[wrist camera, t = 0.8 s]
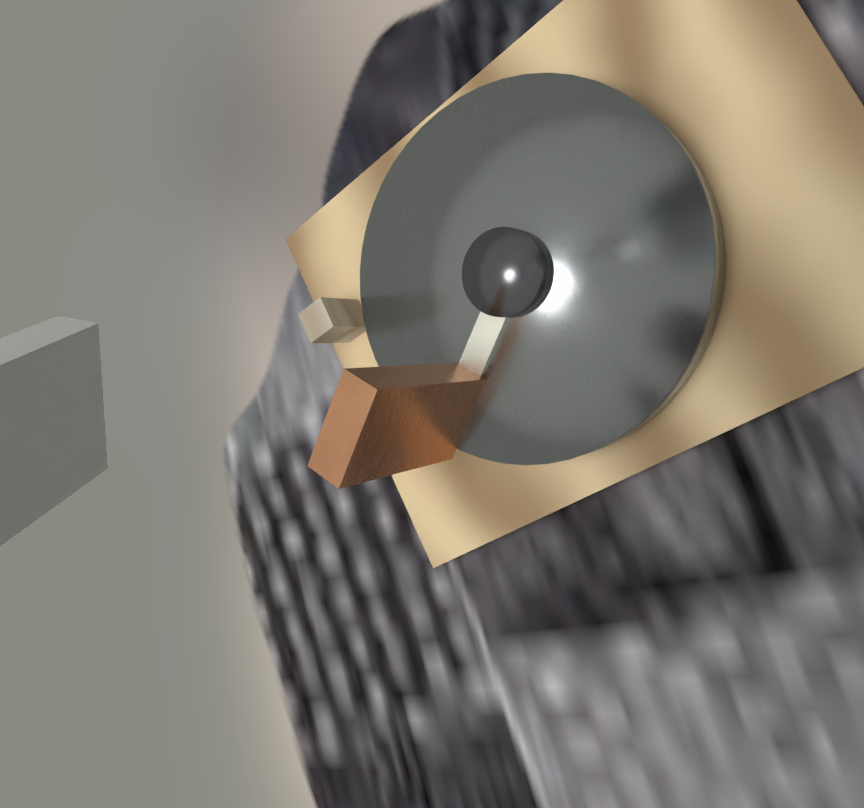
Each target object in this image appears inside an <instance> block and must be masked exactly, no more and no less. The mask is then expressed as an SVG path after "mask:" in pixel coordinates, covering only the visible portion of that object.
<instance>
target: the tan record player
mask: <svg viewBox="0 0 864 808" xmlns="http://www.w3.org/2000/svg"><path fill="white" fill-rule="evenodd" d="M532 73H559V74H570V75H576V76H580V77H584V78H588V79H592V80H596V81H598V82H601V83H603V84H605V85H608V86H610V87H612V88H615V89H617V90H619V91H621V92H623V93H624V94H626V95H627V96H629V97H631V98H632V99H634V100H635V101H637V102H638V103H640V104H641V105H643V106H644V107H645V108H646V109H647V110H649V111H650V112H651V113H652V114H653V115H655V116H656V117H657V118H658V119H659V120H660V121H662V122H663V123H664V124H665V125H666V126H667V127H668V128H670V129H671V130H672V131H673V132H674V133H675V134H676V135H677V136H678V137H679V139H680V140H681V141H682V142H683V143H684V145H685V146H686V147H687V148H688V149H689V151H690V152H691V153H692V155H693V156H694V158H695V160H696V161H697V163H698V165H699V166H700V168H701V170H702V171H703V173H704V174H705V177H706V179H707V181H708V184H709V186H710V188H711V191H712V193H713V196H714V198H715V201H716V205H717V209H718V212H719V216H720V220H721V224H722V230H723V239H724V247H725V281H724V287H723V294H722V300H721V307H720V310H719V314H718V317H717V321H716V324H715V327H714V331H713V334H712V336H711V339H710V341H709V343H708V345H707V348H706V350H705V352H704V354H703V357H702V359H701V360H700V362H699V364H698V365H697V367H696V369H695V370H694V372H693V374H692V375H691V377H690V378H689V380H688V382H687V383H686V384H685V385H684V387H683V388H682V389H681V390H680V392H679V393H678V394H677V395H676V396H675V398H674V399H673V400H672V401H671V402H670V403H669V404H668V405H667V406H666V407H665V408H664V409H663V410H662V411H661V412H660V413H659V414H658V415H657V416H656V417H655V418H653V419H652V420H651V421H650V422H648V423H647V424H645V425H644V426H643V427H641V428H640V429H638V430H637V431H636V432H634V433H633V434H631V435H629V436H627V437H625V438H623V439H622V440H620V441H618V442H616V443H614V444H612V445H610V446H607V447H604V448H601V449H599V450H596V451H593V452H590V453H588V454H585V455H582V456H579V457H576V458H573V459H570V460H565V461H560V462H555V463H550V464H539V465H515V464H503V463H499V462H494V461H490V460H485V459H481V458H479V457H476V456H473V455H471V454H468V453H465V452H463V451H460V450H459V449H456V451H455V454H454V456H453V458H452V459H451V460H447V461H443V462H439V463H436V464H432V465H428V466H424V467H420V468H416V469H412V470H409V471H405V472H401V473H397V474H393V475H392V477H393V479H394V482H395V484H396V486H397V488H398V491H399V493H400V495H401V497H402V500H403V502H404V504H405V506H406V508H407V511H408V513H409V515H410V517H411V520H412V522H413V524H414V526H415V528H416V531H417V533H418V535H419V537H420V540H421V542H422V544H423V546H424V549H425V551H426V553H427V555H428V557H429V560H430V562H431V564H432V566H433V568H435V567H437V566H439V565H441V564H443V563H445V562H448V561H450V560H452V559H454V558H456V557H458V556H460V555H463V554H465V553H467V552H469V551H471V550H473V549H475V548H478V547H480V546H482V545H484V544H486V543H488V542H490V541H493V540H495V539H497V538H499V537H501V536H503V535H505V534H508V533H510V532H512V531H514V530H516V529H518V528H520V527H523V526H525V525H527V524H529V523H531V522H533V521H535V520H538V519H540V518H542V517H544V516H546V515H548V514H550V513H553V512H555V511H557V510H559V509H561V508H563V507H566V506H568V505H570V504H572V503H574V502H576V501H578V500H581V499H583V498H585V497H587V496H589V495H591V494H593V493H596V492H598V491H600V490H602V489H604V488H606V487H608V486H611V485H613V484H615V483H617V482H619V481H621V480H623V479H626V478H628V477H630V476H632V475H634V474H636V473H638V472H641V471H643V470H645V469H647V468H649V467H651V466H653V465H656V464H658V463H660V462H662V461H664V460H666V459H668V458H671V457H673V456H675V455H677V454H679V453H681V452H683V451H686V450H688V449H690V448H692V447H694V446H696V445H698V444H701V443H703V442H705V441H707V440H709V439H711V438H713V437H716V436H718V435H720V434H722V433H724V432H726V431H729V430H731V429H733V428H735V427H737V426H739V425H741V424H744V423H746V422H748V421H750V420H752V419H754V418H756V417H759V416H761V415H763V414H765V413H767V412H769V411H771V410H774V409H776V408H778V407H780V406H782V405H784V404H786V403H789V402H791V401H793V400H795V399H797V398H799V397H801V396H804V395H806V394H808V393H810V392H812V391H814V390H816V389H819V388H821V387H823V386H825V385H827V384H829V383H831V382H834V381H836V380H838V379H840V378H842V377H844V376H846V375H849V374H851V373H853V372H855V371H857V370H859V369H861V368H864V106H863V104H862V103H861V101H860V100H859V98H858V97H857V95H856V93H855V92H854V90H853V89H852V87H851V85H850V84H849V82H848V81H847V79H846V78H845V76H844V74H843V73H842V71H841V70H840V68H839V67H838V65H837V63H836V62H835V60H834V59H833V57H832V55H831V54H830V52H829V51H828V49H827V48H826V46H825V44H824V43H823V41H822V40H821V38H820V36H819V35H818V33H817V32H816V30H815V29H814V27H813V25H812V24H811V22H810V21H809V19H808V18H807V16H806V14H805V13H804V11H803V10H802V8H801V6H800V5H799V3H798V2H797V0H563V1H562V2H561V3H560V4H559V5H557V6H556V7H555V8H554V9H553V10H552V11H550V12H549V13H548V14H547V15H546V16H545V17H543V18H542V19H541V20H540V21H539V22H538V23H536V24H535V25H534V26H533V27H532V28H531V29H529V30H528V31H527V32H526V33H525V34H524V35H522V36H521V37H520V38H519V39H518V40H517V41H516V42H514V43H513V44H512V45H511V46H510V47H509V48H507V49H506V50H505V51H504V52H503V53H502V54H500V55H499V56H498V57H497V58H496V59H495V60H493V61H492V62H491V63H490V64H489V65H488V66H486V67H485V68H484V69H483V70H482V71H481V72H479V73H478V74H477V75H476V76H475V77H474V78H472V79H471V80H470V81H469V82H468V83H467V84H466V85H464V86H463V87H462V88H461V89H460V90H459V91H457V92H456V93H455V94H454V95H453V96H452V97H450V98H449V99H448V100H447V101H446V102H445V103H443V104H442V105H441V106H440V107H439V108H438V109H436V110H435V111H434V112H433V113H432V114H431V115H429V116H428V117H427V118H426V119H425V120H424V121H422V122H421V123H420V124H419V125H418V126H417V127H415V128H414V129H413V130H412V131H411V132H410V133H409V134H407V135H406V136H405V137H404V138H403V139H402V140H400V141H399V142H398V143H397V144H396V145H395V146H393V147H392V148H391V149H390V150H389V151H388V152H386V153H385V154H384V155H383V156H382V157H381V158H379V159H378V160H377V161H376V162H375V163H374V164H372V165H371V166H370V167H369V168H368V169H367V170H365V171H364V172H363V173H362V174H361V175H360V176H359V177H357V178H356V179H355V180H354V181H353V182H352V183H350V184H349V185H348V186H347V187H346V188H345V189H343V190H342V191H341V192H340V193H339V194H338V195H336V196H335V197H334V198H333V199H332V200H331V201H329V202H328V203H327V204H326V205H325V206H324V207H322V208H321V209H320V210H319V211H318V212H317V213H315V214H314V215H313V216H312V217H311V218H310V219H309V220H307V221H306V222H305V223H304V224H303V225H302V226H300V227H299V228H298V229H297V230H296V231H295V232H294V233H292V234H291V235H290V236H289V237H288V238H286V241H287V243H288V246H289V248H290V250H291V252H292V255H293V257H294V259H295V261H296V264H297V266H298V268H299V270H300V272H301V275H302V277H303V279H304V281H305V284H306V286H307V288H308V290H309V292H310V295H311V297H312V299H313V301H314V302H313V303H312V304H311V305H309V306H308V307H307V308H305V309H304V310H303V311H302V312H300V313H299V314H298V315H299V317H300V319H301V322H302V324H303V326H304V328H305V331H306V333H307V335H308V337H309V340H310V342H311V343H332V344H333V346H334V348H335V350H336V353H337V355H338V357H339V359H340V361H341V364H342V366H343V368H344V369H345V368H364V367H379V366H378V364H377V362H376V360H375V357H374V354H373V351H372V349H371V346H370V343H369V340H368V337H367V332H366V328H365V324H364V319H363V314H362V305H361V297H360V264H361V252H362V246H363V240H364V235H365V230H366V226H367V222H368V219H369V216H370V212H371V209H372V206H373V203H374V201H375V198H376V196H377V194H378V191H379V189H380V186H381V184H382V182H383V180H384V179H385V177H386V175H387V173H388V171H389V169H390V168H391V166H392V164H393V162H394V161H395V160H396V158H397V157H398V155H399V154H400V152H401V151H402V150H403V148H404V147H405V145H406V144H407V143H408V142H409V141H410V139H411V138H412V137H413V136H414V135H415V134H416V133H417V132H418V130H419V129H420V128H421V127H422V126H423V125H424V124H425V123H427V122H428V121H429V120H430V119H431V118H432V117H433V116H434V115H435V114H437V113H438V112H439V111H440V110H442V109H443V108H444V107H446V106H447V105H449V104H450V103H452V102H453V101H455V100H456V99H457V98H459V97H461V96H463V95H465V94H467V93H469V92H470V91H472V90H474V89H476V88H478V87H480V86H483V85H486V84H489V83H491V82H494V81H497V80H500V79H503V78H508V77H513V76H518V75H522V74H532Z"/></svg>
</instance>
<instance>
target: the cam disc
mask: <svg viewBox="0 0 864 808" xmlns="http://www.w3.org/2000/svg"><path fill="white" fill-rule="evenodd" d="M724 281H725V247H724V239H723V230H722V224H721V220H720V216H719V212H718V209H717V205H716V201H715V198H714V196H713V193H712V191H711V188H710V186H709V184H708V181H707V179H706V177H705V174H704V173H703V171H702V170H701V168H700V166H699V165H698V163H697V161H696V160H695V158H694V156H693V155H692V153H691V152H690V151H689V149H688V148H687V147H686V146H685V145H684V143H683V142H682V141H681V140H680V139H679V137H678V136H677V135H676V134H675V133H674V132H673V131H672V130H671V129H670V128H668V127H667V126H666V125H665V124H664V123H663V122H662V121H660V120H659V119H658V118H657V117H656V116H655V115H653V114H652V113H651V112H650V111H649V110H647V109H646V108H645V107H644V106H643V105H641V104H640V103H638V102H637V101H635V100H634V99H632V98H631V97H629V96H627V95H626V94H624V93H623V92H621V91H619V90H617V89H615V88H612V87H610V86H608V85H605V84H603V83H601V82H598V81H596V80H592V79H588V78H584V77H580V76H576V75H570V74H559V73H532V74H522V75H518V76H513V77H508V78H503V79H500V80H497V81H494V82H491V83H489V84H486V85H483V86H480V87H478V88H476V89H474V90H472V91H470V92H469V93H467V94H465V95H463V96H461V97H459V98H457V99H456V100H455V101H453V102H452V103H450V104H449V105H447V106H446V107H444V108H443V109H442V110H440V111H439V112H438V113H437V114H435V115H434V116H433V117H432V118H431V119H430V120H429V121H428V122H427V123H425V124H424V125H423V126H422V127H421V128H420V129H419V130H418V132H417V133H416V134H415V135H414V136H413V137H412V138H411V139H410V141H409V142H408V143H407V144H406V145H405V147H404V148H403V150H402V151H401V152H400V154H399V155H398V157H397V158H396V160H395V161H394V162H393V164H392V166H391V168H390V169H389V171H388V173H387V175H386V177H385V179H384V180H383V182H382V184H381V186H380V189H379V191H378V194H377V196H376V198H375V201H374V203H373V206H372V209H371V212H370V216H369V219H368V222H367V226H366V230H365V235H364V240H363V246H362V252H361V264H360V297H361V305H362V314H363V319H364V324H365V328H366V332H367V337H368V340H369V343H370V346H371V349H372V351H373V354H374V357H375V360H376V362H377V364H378V366H379V367H364V368H345V369H344V370H343V372H342V375H341V378H340V380H339V383H338V386H337V388H336V391H335V394H334V397H333V399H332V402H331V405H330V407H329V410H328V413H327V415H326V418H325V421H324V423H323V426H322V429H321V431H320V434H319V437H318V439H317V442H316V445H315V448H314V450H313V453H312V456H311V458H310V461H309V464H308V467H310V468H311V469H312V470H314V471H315V472H317V473H318V474H319V475H321V476H322V477H323V478H325V479H326V480H328V481H329V482H330V483H332V484H333V485H334V486H336V487H337V488H343V487H347V486H351V485H355V484H359V483H362V482H366V481H370V480H374V479H378V478H382V477H385V476H389V475H393V474H397V473H401V472H405V471H409V470H412V469H416V468H420V467H424V466H428V465H432V464H436V463H439V462H443V461H447V460H451V459H452V458H453V456H454V454H455V451H456V449H459V450H460V451H463V452H465V453H468V454H471V455H473V456H476V457H479V458H481V459H485V460H490V461H494V462H499V463H503V464H515V465H539V464H550V463H555V462H560V461H565V460H570V459H573V458H576V457H579V456H582V455H585V454H588V453H590V452H593V451H596V450H599V449H601V448H604V447H607V446H610V445H612V444H614V443H616V442H618V441H620V440H622V439H623V438H625V437H627V436H629V435H631V434H633V433H634V432H636V431H637V430H638V429H640V428H641V427H643V426H644V425H645V424H647V423H648V422H650V421H651V420H652V419H653V418H655V417H656V416H657V415H658V414H659V413H660V412H661V411H662V410H663V409H664V408H665V407H666V406H667V405H668V404H669V403H670V402H671V401H672V400H673V399H674V398H675V396H676V395H677V394H678V393H679V392H680V390H681V389H682V388H683V387H684V385H685V384H686V383H687V382H688V380H689V378H690V377H691V375H692V374H693V372H694V370H695V369H696V367H697V365H698V364H699V362H700V360H701V359H702V357H703V354H704V352H705V350H706V348H707V345H708V343H709V341H710V339H711V336H712V334H713V331H714V327H715V324H716V321H717V317H718V314H719V310H720V307H721V300H722V294H723V287H724Z"/></svg>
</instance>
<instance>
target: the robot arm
mask: <svg viewBox="0 0 864 808" xmlns="http://www.w3.org/2000/svg"><path fill="white" fill-rule="evenodd" d="M101 375H102V374H101V361H100V344H99V329H98V323H94V322H87V321H82V320H76V319H70V318H64V317H55V318H52V319H49V320H47V321H44V322H42V323H39V324H37V325H34V326H31V327H29V328H26V329H23V330H21V331H18V332H15V333H13V334H11V335H8V336H5V337H2V338H0V546H1V545H2V544H4V543H5V542H6V541H8V540H9V539H11V538H12V537H13V536H14V535H16V534H17V533H19V532H20V531H21V530H23V529H24V528H26V527H27V526H29V525H30V524H31V523H33V522H34V521H35V520H37V519H38V518H40V517H41V516H42V515H44V514H45V513H47V512H48V511H49V510H51V509H52V508H53V507H55V506H56V505H57V504H59V503H60V502H62V501H63V500H64V499H66V498H67V497H69V496H70V495H71V494H73V493H74V492H75V491H77V490H78V489H80V488H81V487H83V486H84V485H85V484H87V483H88V482H89V481H91V480H92V479H94V478H95V477H96V476H98V475H99V474H101V473H102V472H103V471H105V470H106V469H107V468H108V466H107V451H106V437H105V420H104V405H103V390H102V376H101Z"/></svg>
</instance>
